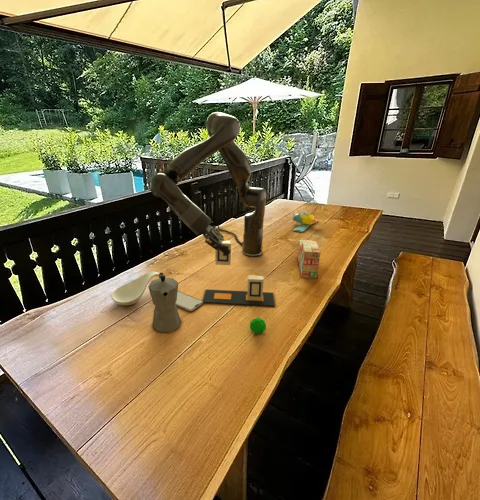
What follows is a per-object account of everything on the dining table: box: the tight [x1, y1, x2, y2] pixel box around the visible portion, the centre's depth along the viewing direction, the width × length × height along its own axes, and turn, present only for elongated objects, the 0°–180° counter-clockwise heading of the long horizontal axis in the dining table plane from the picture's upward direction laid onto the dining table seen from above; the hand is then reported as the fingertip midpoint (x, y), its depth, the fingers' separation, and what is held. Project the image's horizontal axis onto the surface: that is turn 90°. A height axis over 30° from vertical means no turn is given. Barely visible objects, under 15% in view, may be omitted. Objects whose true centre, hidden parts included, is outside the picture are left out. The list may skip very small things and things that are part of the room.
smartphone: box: [175, 290, 204, 312], centre depth 112 cm, size 7×1×15 cm
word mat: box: [202, 289, 276, 308], centre depth 113 cm, size 26×9×1 cm, turn 83°
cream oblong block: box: [214, 240, 232, 266], centre depth 109 cm, size 3×6×8 cm, turn 83°
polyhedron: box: [249, 317, 267, 335], centre depth 94 cm, size 5×5×5 cm
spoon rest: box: [110, 271, 160, 306], centre depth 116 cm, size 24×12×7 cm, turn 140°
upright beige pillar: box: [246, 274, 264, 300], centre depth 110 cm, size 3×6×8 cm, turn 83°
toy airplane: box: [292, 212, 320, 233], centre depth 190 cm, size 28×9×15 cm
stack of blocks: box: [297, 239, 321, 279], centre depth 134 cm, size 21×6×12 cm, turn 169°
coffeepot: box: [147, 272, 181, 333], centre depth 97 cm, size 15×9×18 cm, turn 13°
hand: (228, 251), depth 109 cm, fingers closed on cream oblong block, 3 cm apart
